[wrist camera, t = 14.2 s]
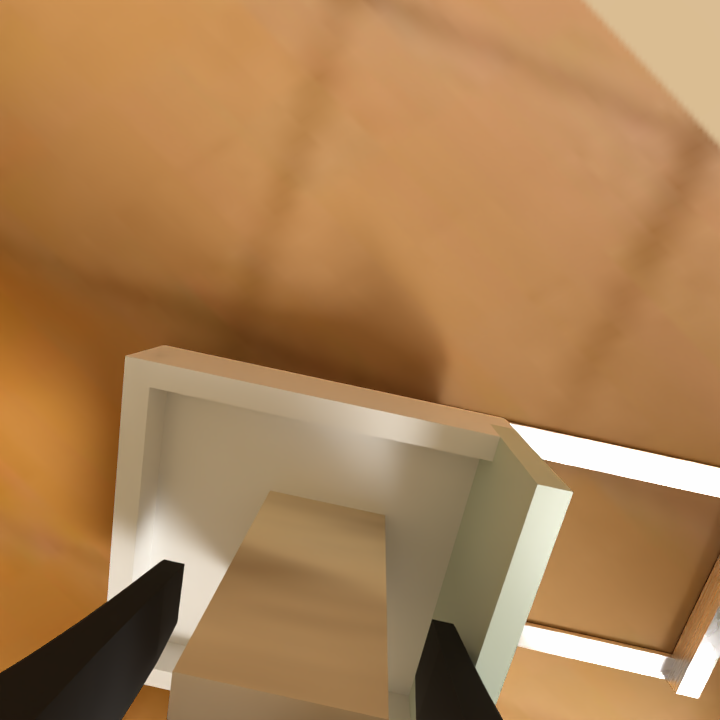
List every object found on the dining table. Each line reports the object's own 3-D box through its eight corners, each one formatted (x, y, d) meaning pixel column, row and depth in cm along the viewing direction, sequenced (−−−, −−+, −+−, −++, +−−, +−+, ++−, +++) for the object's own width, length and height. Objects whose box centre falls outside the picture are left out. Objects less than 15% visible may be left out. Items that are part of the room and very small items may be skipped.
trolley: (417, 642, 17) (438, 860, 11) (165, 586, 17) (35, 767, 11) (487, 400, 15) (573, 492, 8) (193, 336, 15) (46, 377, 8)
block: (361, 611, 13) (346, 869, 7) (253, 588, 13) (154, 825, 8) (385, 515, 12) (388, 719, 7) (269, 490, 13) (172, 671, 7)
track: (683, 679, 17) (698, 698, 16) (141, 558, 17) (129, 571, 17) (781, 480, 15) (804, 491, 14) (161, 346, 15) (149, 349, 15)
